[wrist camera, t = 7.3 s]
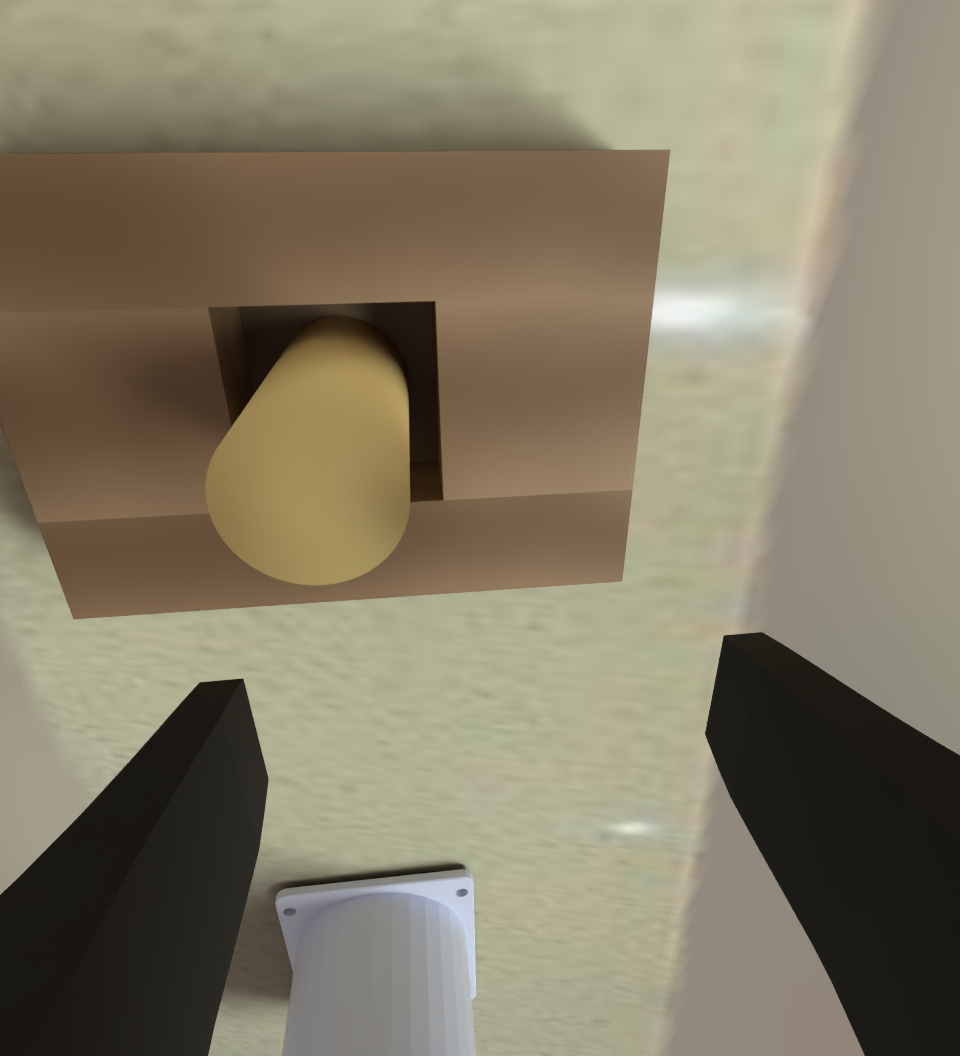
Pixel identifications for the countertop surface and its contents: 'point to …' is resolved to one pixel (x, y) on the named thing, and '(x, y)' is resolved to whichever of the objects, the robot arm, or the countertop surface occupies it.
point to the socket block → (298, 300)
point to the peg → (318, 458)
